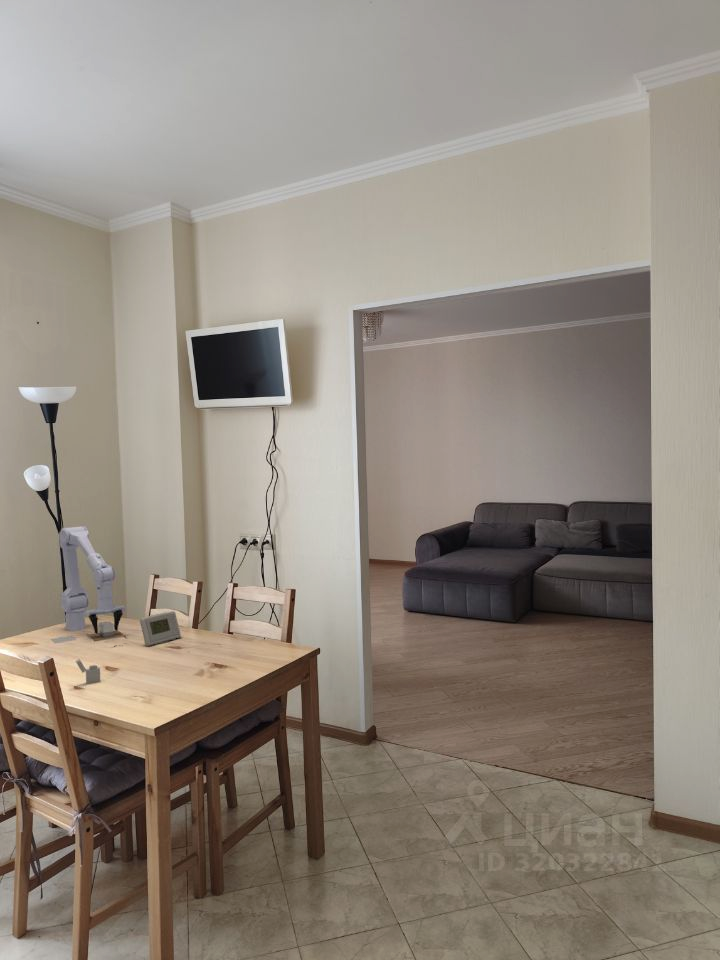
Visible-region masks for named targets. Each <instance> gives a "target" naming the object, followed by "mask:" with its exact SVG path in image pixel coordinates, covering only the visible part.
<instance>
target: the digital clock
mask: <svg viewBox="0 0 720 960" xmlns="http://www.w3.org/2000/svg"><path fill="white" fill-rule="evenodd" d="M139 622H140V626H141V627H140V628H141V632H142V635H143V636H142V637H143V640H144V643H145V645H146V647H149V646H155V645H154V644H157V645H159V644H158V643H161V644H163V643H162V642H164V643H167V642H166V641H168V642H170V641H169V640H172V641H174V640H176V638H177V639H180V638H181V636H182V635H181V630H180V625H179V622H178V618H177V614H176V612H175V611H174V610H171V611H168V612H167V611H166V612H162V613H157V614H153V615H149V616H145V617H141V618H140V619H139ZM173 639H174V640H173Z"/></svg>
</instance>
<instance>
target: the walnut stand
mask: <svg viewBox="0 0 720 960" xmlns="http://www.w3.org/2000/svg"><path fill="white" fill-rule="evenodd" d="M87 637H89V638H90V639H91V640H92V641H93V642H100V641H106V640H110V639H111V640H112V639H118V638H125V639H127V635H125V634H124V633H122V632H121V631H119V630H115V629H114V637H109V638H102V637H101V636H100V635H99V632H98V633H97V634H96V633H91V634H87Z"/></svg>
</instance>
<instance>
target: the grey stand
mask: <svg viewBox="0 0 720 960" xmlns="http://www.w3.org/2000/svg"><path fill="white" fill-rule="evenodd" d="M50 641H52V642H53V643H54V644H60V643H61V644H62V643H65V642H72V641H77V638H76V637H74V636H73V635H68V636H62V637H55V638H50Z"/></svg>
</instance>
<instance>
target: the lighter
mask: <svg viewBox="0 0 720 960" xmlns="http://www.w3.org/2000/svg"><path fill="white" fill-rule="evenodd" d="M75 663H76V665H77V666H78V668H79V669H80V671H81V673H82V674H83V673H85V683H86V684H87V683H89V684H93V683H92V682H94V683H98V682H97V681H100V682H101V668H100V667H99V666H98V665H96V664H94V665H93V664H92V665H89V666H88V667H89V668H86V667H85V666H84V664H83V662H82V661H81V659H80V658H78V659H77V660H76V661H75Z"/></svg>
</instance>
